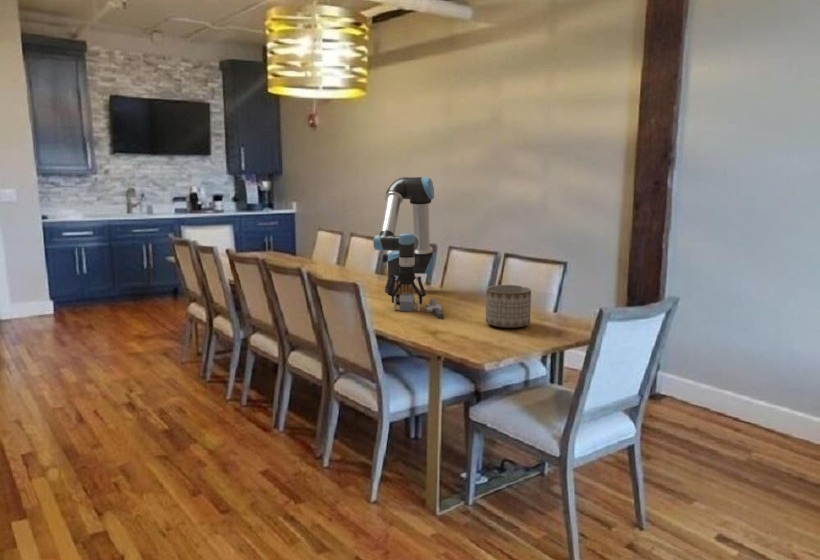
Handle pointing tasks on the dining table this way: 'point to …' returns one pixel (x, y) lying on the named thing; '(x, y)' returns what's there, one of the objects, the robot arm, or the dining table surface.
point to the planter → (508, 306)
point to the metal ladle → (434, 309)
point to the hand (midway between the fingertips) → (406, 309)
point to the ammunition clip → (402, 291)
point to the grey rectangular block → (407, 302)
